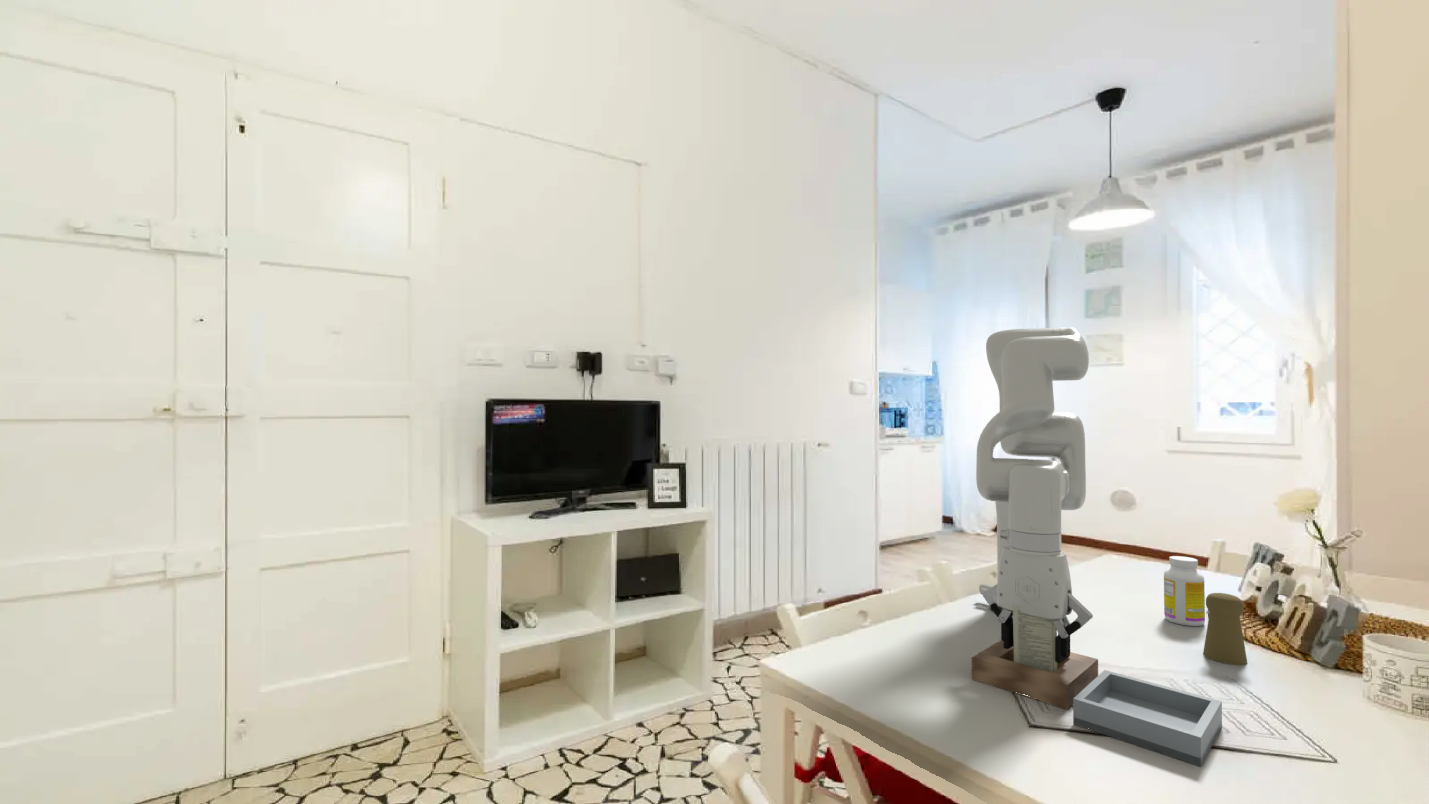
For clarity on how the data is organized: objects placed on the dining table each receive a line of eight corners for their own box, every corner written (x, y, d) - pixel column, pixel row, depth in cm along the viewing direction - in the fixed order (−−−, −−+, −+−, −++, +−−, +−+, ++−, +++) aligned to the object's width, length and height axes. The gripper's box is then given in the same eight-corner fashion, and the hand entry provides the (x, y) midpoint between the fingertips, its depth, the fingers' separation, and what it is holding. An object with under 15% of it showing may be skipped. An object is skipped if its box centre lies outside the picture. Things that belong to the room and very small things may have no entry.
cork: (1255, 666, 106) (1255, 600, 106) (1215, 663, 107) (1214, 598, 108) (1234, 652, 112) (1233, 590, 112) (1195, 650, 113) (1195, 588, 114)
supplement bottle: (1209, 622, 128) (1208, 559, 128) (1199, 629, 124) (1199, 564, 124) (1170, 614, 133) (1169, 553, 134) (1159, 620, 129) (1159, 557, 129)
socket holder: (971, 679, 101) (971, 657, 101) (1007, 655, 110) (1007, 635, 110) (1067, 709, 91) (1067, 685, 91) (1098, 681, 100) (1098, 659, 100)
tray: (1073, 724, 86) (1073, 698, 86) (1104, 693, 96) (1104, 670, 96) (1201, 766, 76) (1200, 737, 76) (1221, 727, 86) (1221, 701, 86)
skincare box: (1056, 678, 101) (1056, 602, 101) (1058, 689, 97) (1058, 610, 97) (1012, 671, 104) (1012, 597, 104) (1012, 682, 100) (1012, 604, 100)
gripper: (970, 536, 104) (970, 644, 104) (1087, 554, 92) (1088, 677, 92) (989, 530, 110) (990, 633, 109) (1103, 547, 97) (1104, 663, 97)
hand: (1034, 652), depth 100 cm, fingers closed on skincare box, 7 cm apart
